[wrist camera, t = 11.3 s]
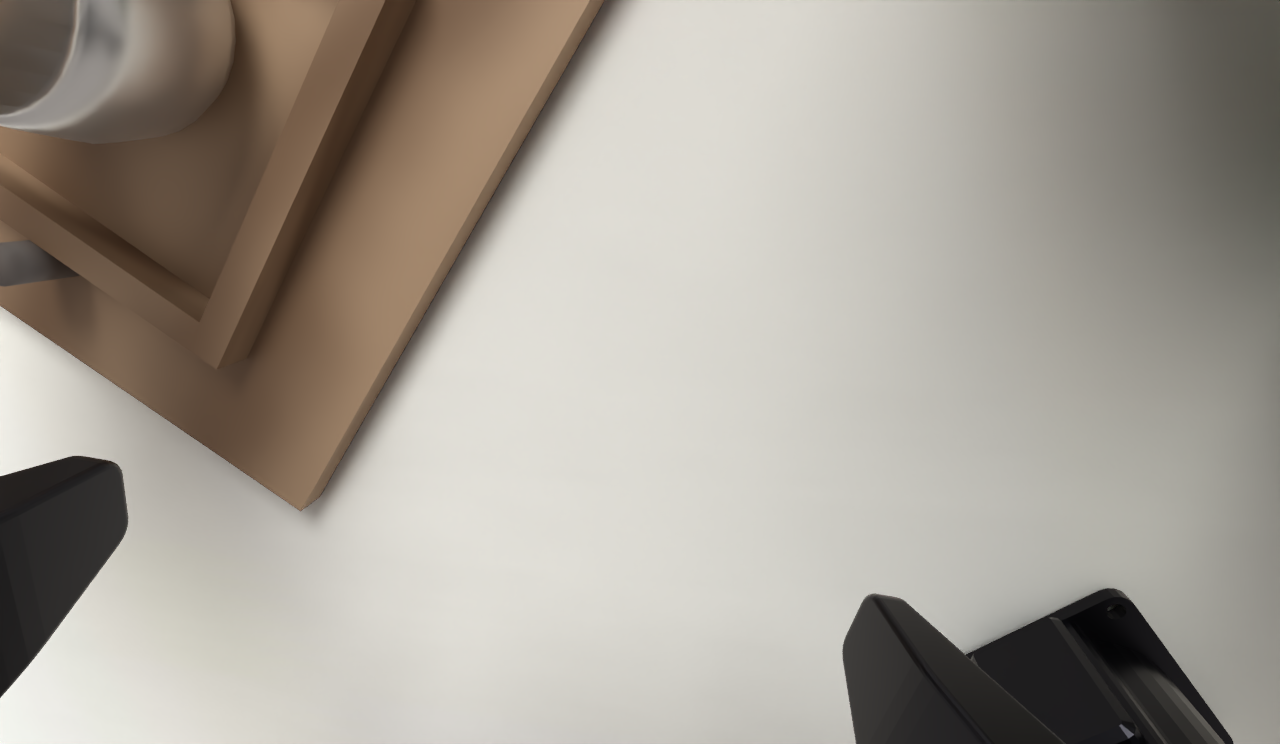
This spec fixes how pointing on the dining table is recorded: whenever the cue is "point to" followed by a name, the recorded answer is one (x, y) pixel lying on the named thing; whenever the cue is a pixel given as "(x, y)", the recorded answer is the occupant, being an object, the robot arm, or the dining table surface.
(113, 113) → the plastic bottle
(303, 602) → the dining table surface
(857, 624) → the robot arm
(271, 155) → the walnut bottle stand
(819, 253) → the dining table surface
